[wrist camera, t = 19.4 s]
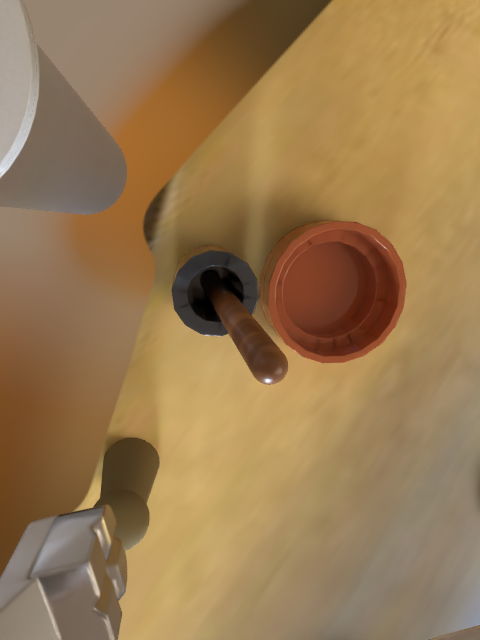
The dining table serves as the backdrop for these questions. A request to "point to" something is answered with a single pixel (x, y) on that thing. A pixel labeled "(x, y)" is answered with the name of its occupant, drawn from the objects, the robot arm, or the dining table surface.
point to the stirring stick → (245, 332)
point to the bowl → (333, 290)
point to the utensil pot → (192, 296)
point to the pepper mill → (129, 487)
